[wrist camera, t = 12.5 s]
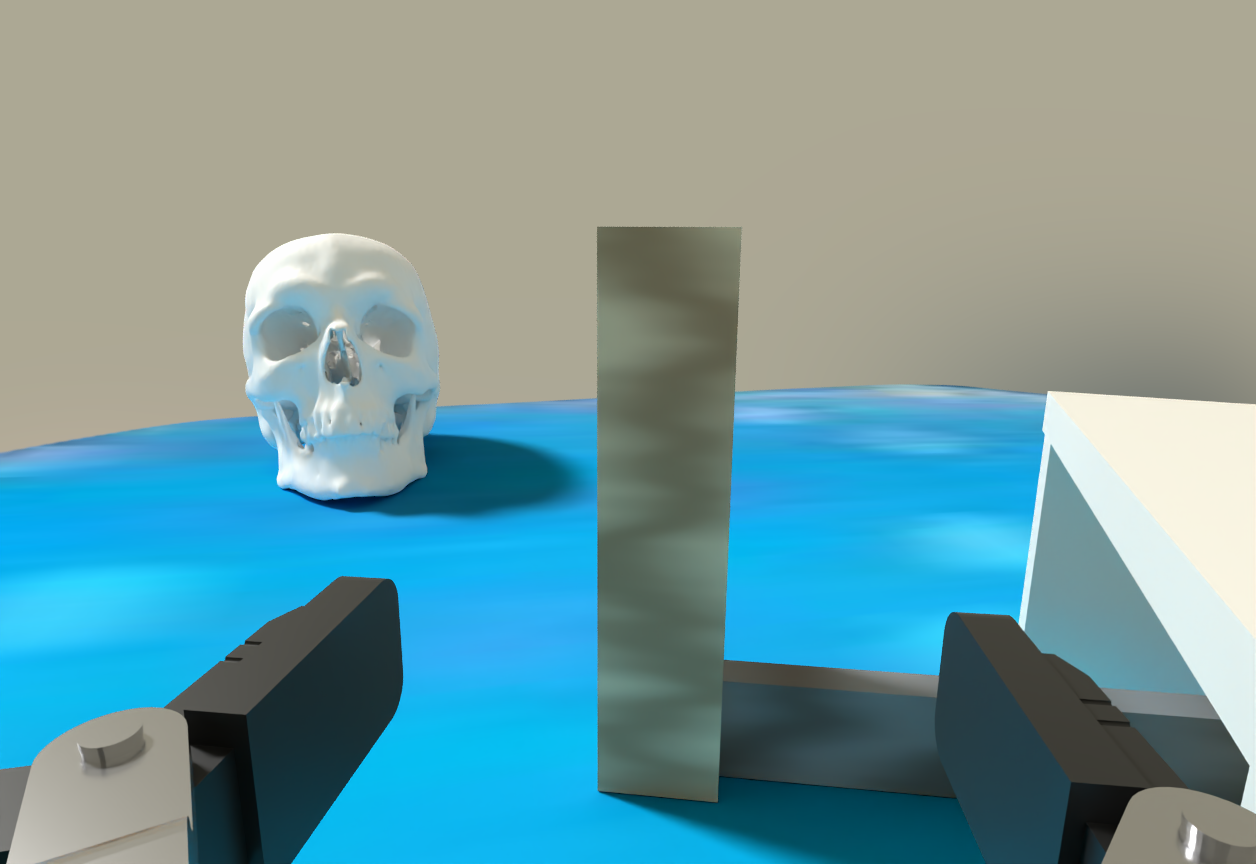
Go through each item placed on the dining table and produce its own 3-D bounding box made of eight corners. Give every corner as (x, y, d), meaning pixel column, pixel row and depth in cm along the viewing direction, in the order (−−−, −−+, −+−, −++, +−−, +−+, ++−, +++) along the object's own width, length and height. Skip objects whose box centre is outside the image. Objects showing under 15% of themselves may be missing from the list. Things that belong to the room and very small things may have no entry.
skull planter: (215, 500, 42) (209, 192, 46) (267, 544, 60) (260, 321, 64) (468, 479, 46) (441, 200, 50) (444, 526, 65) (426, 319, 69)
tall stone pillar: (597, 790, 22) (597, 226, 19) (614, 719, 26) (617, 230, 22) (1374, 865, 20) (1551, 231, 16) (1279, 776, 23) (1409, 234, 19)
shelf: (1177, 1478, 10) (1367, 772, 7) (1012, 646, 31) (1048, 391, 28) (2038, 1900, 7) (2749, 1045, 5) (1221, 683, 28) (1280, 406, 26)
